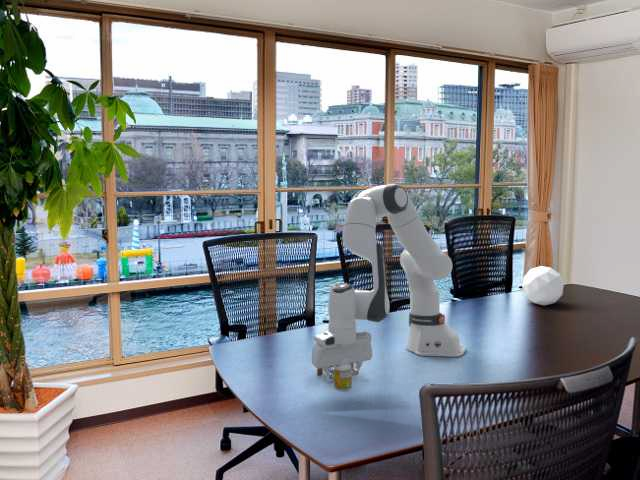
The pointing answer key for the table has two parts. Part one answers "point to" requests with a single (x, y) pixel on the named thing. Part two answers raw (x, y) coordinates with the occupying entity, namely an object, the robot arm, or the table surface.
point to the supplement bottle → (343, 376)
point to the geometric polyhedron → (543, 285)
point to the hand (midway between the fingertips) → (342, 376)
